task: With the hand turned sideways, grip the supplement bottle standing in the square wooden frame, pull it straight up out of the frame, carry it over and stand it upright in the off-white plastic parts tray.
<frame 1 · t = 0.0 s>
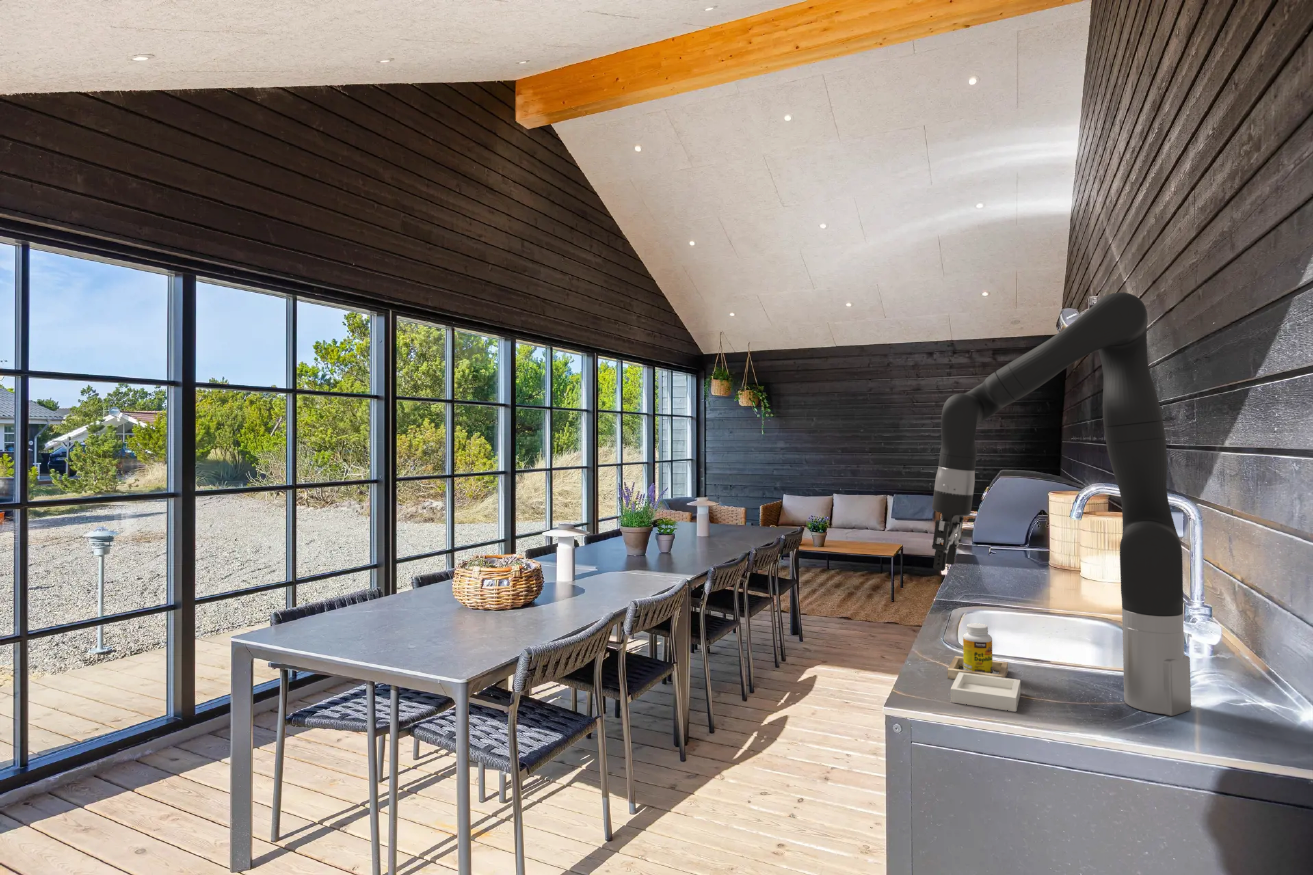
hand: (944, 566, 154), 22 cm above the worktop, tool pointing down, fingers open, 8 cm apart
square wooden frame: (978, 674, 153), on the worktop
parts tray: (986, 697, 140), on the worktop
supplement bottle: (978, 675, 153), resting in square wooden frame
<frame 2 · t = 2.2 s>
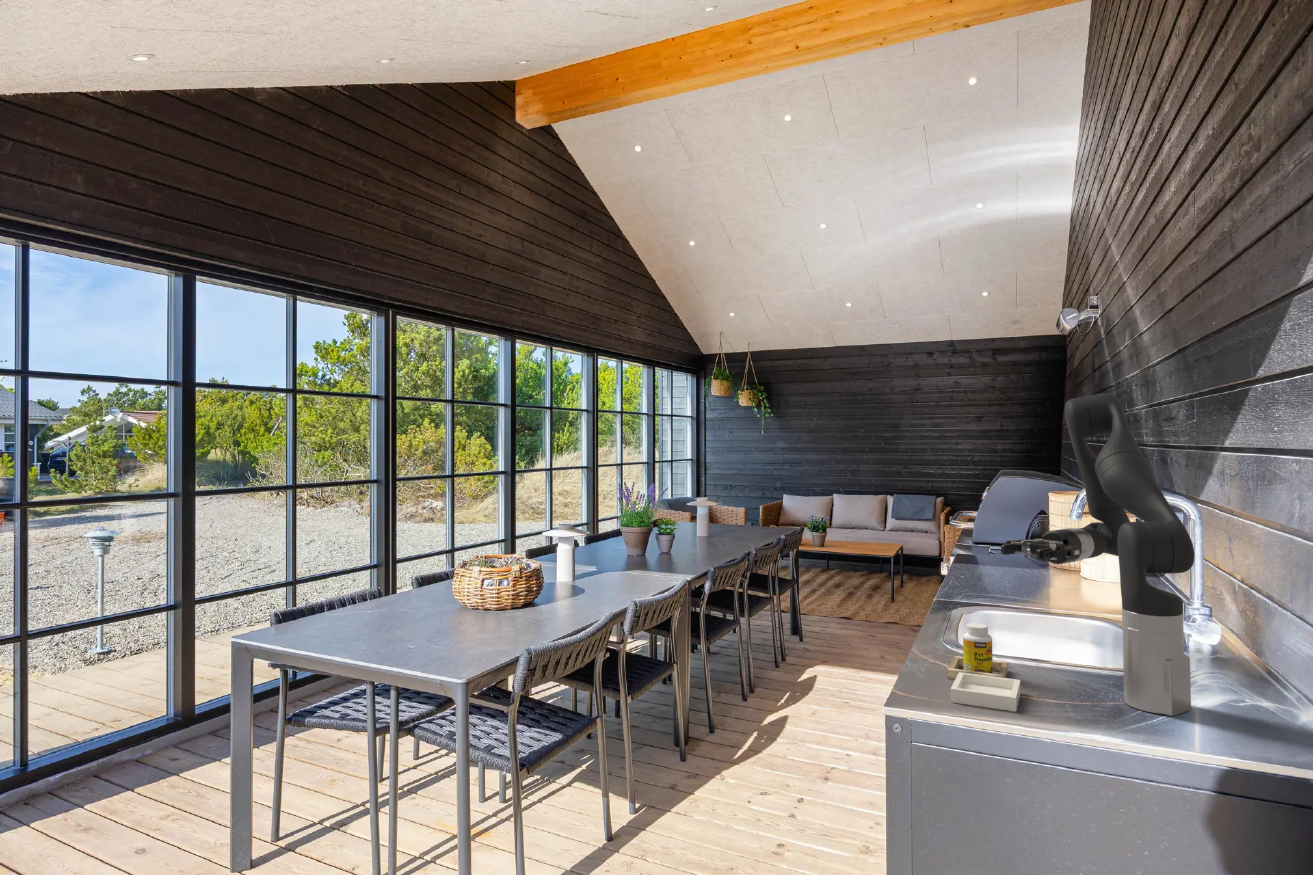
hand: (1019, 552, 160), 24 cm above the worktop, tool horizontal, fingers open, 8 cm apart
nothing on the worktop moved.
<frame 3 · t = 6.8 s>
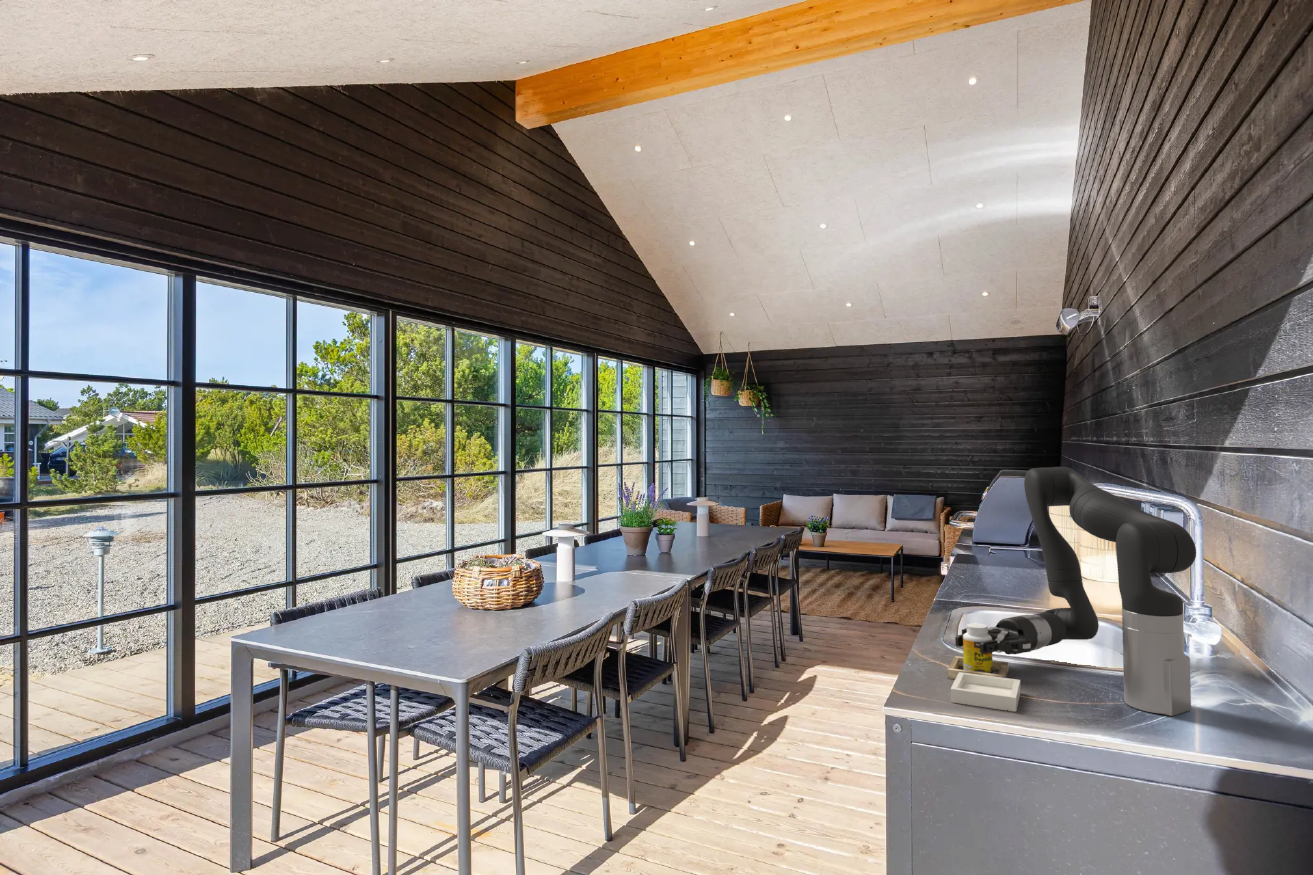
hand: (969, 644, 152), 7 cm above the worktop, tool horizontal, fingers closed on supplement bottle, 5 cm apart
supplement bottle: (978, 675, 153), resting in square wooden frame, touching gripper
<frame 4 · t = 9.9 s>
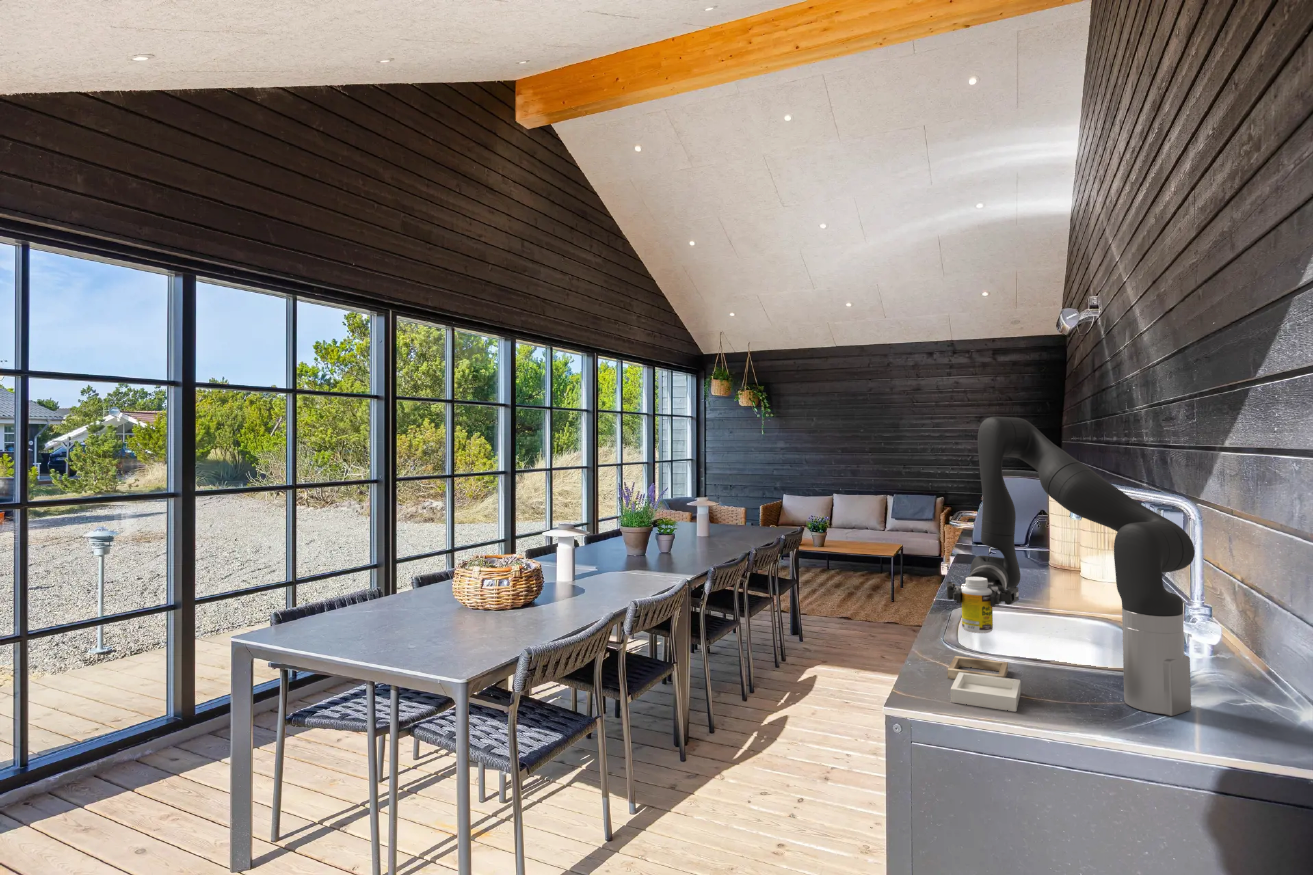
hand: (975, 599, 143), 18 cm above the worktop, tool horizontal, fingers closed on supplement bottle, 5 cm apart
supplement bottle: (977, 631, 145), point 11 cm above the worktop, touching gripper
when the fingers open (8 cm above the worktop, at t = 13.1 s): supplement bottle drops 1 cm, resting on parts tray.
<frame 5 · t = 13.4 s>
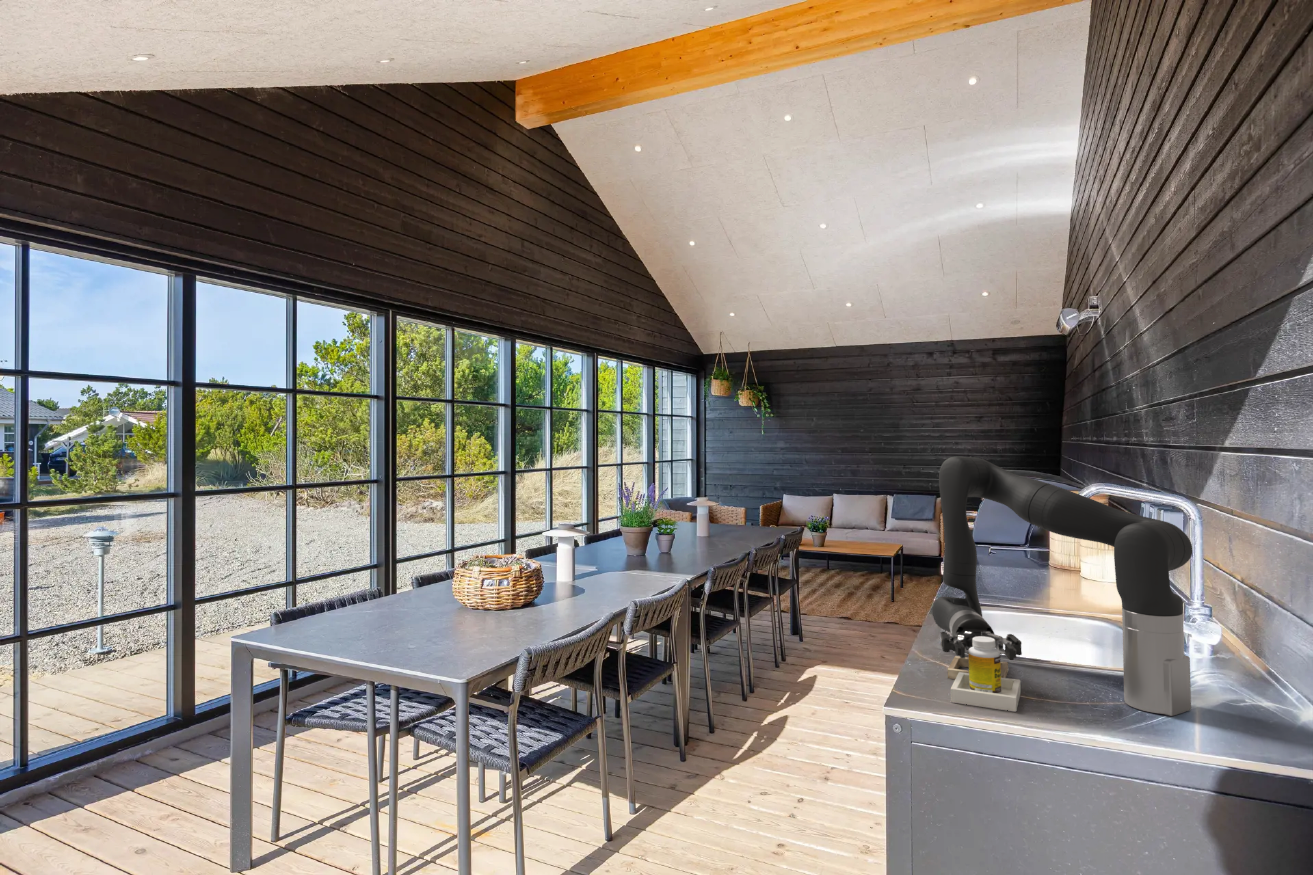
hand: (987, 653, 138), 9 cm above the worktop, tool horizontal, fingers open, 8 cm apart
supplement bottle: (985, 693, 140), point 1 cm above the worktop, touching parts tray
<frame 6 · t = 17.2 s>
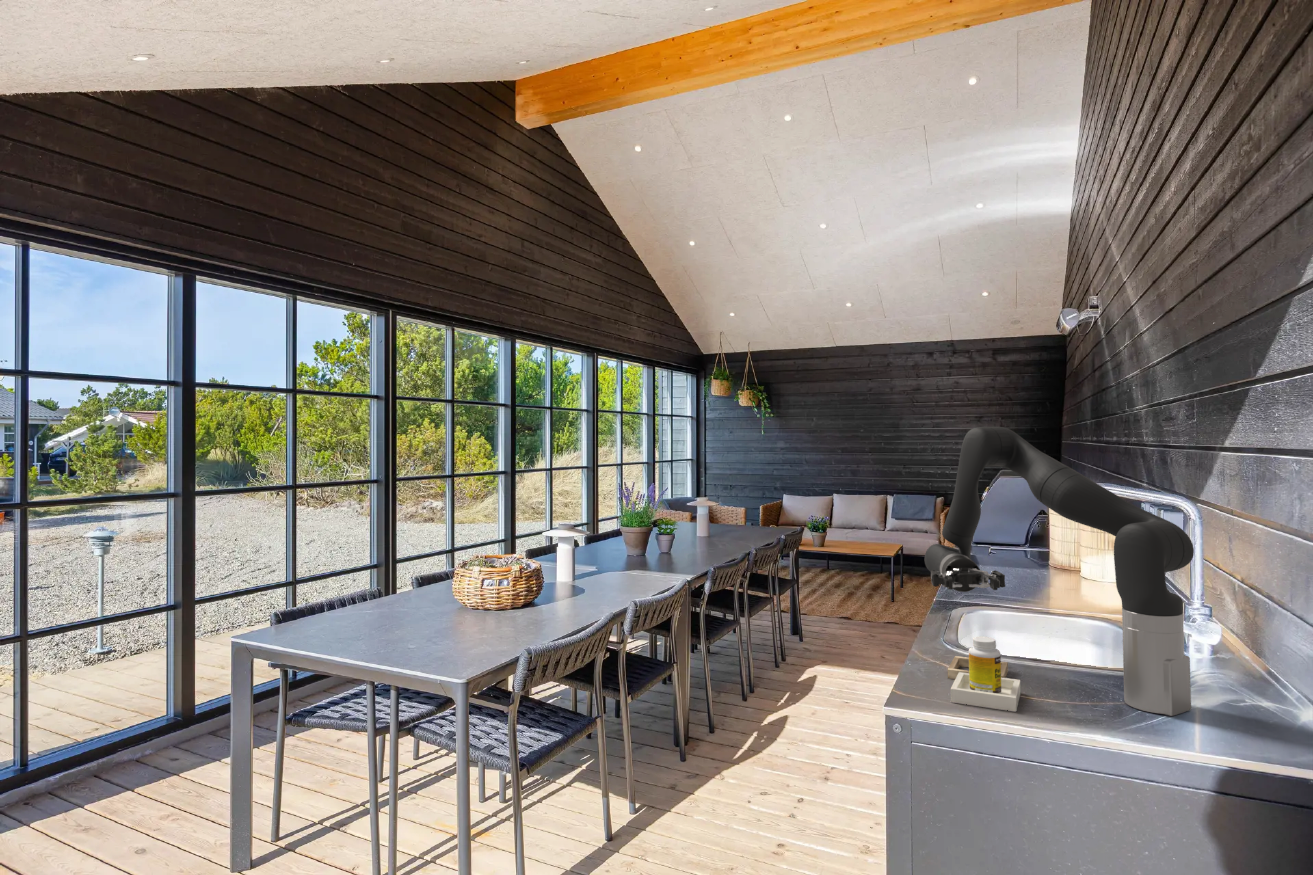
hand: (973, 584, 151), 19 cm above the worktop, tool horizontal, fingers open, 8 cm apart
nothing on the worktop moved.
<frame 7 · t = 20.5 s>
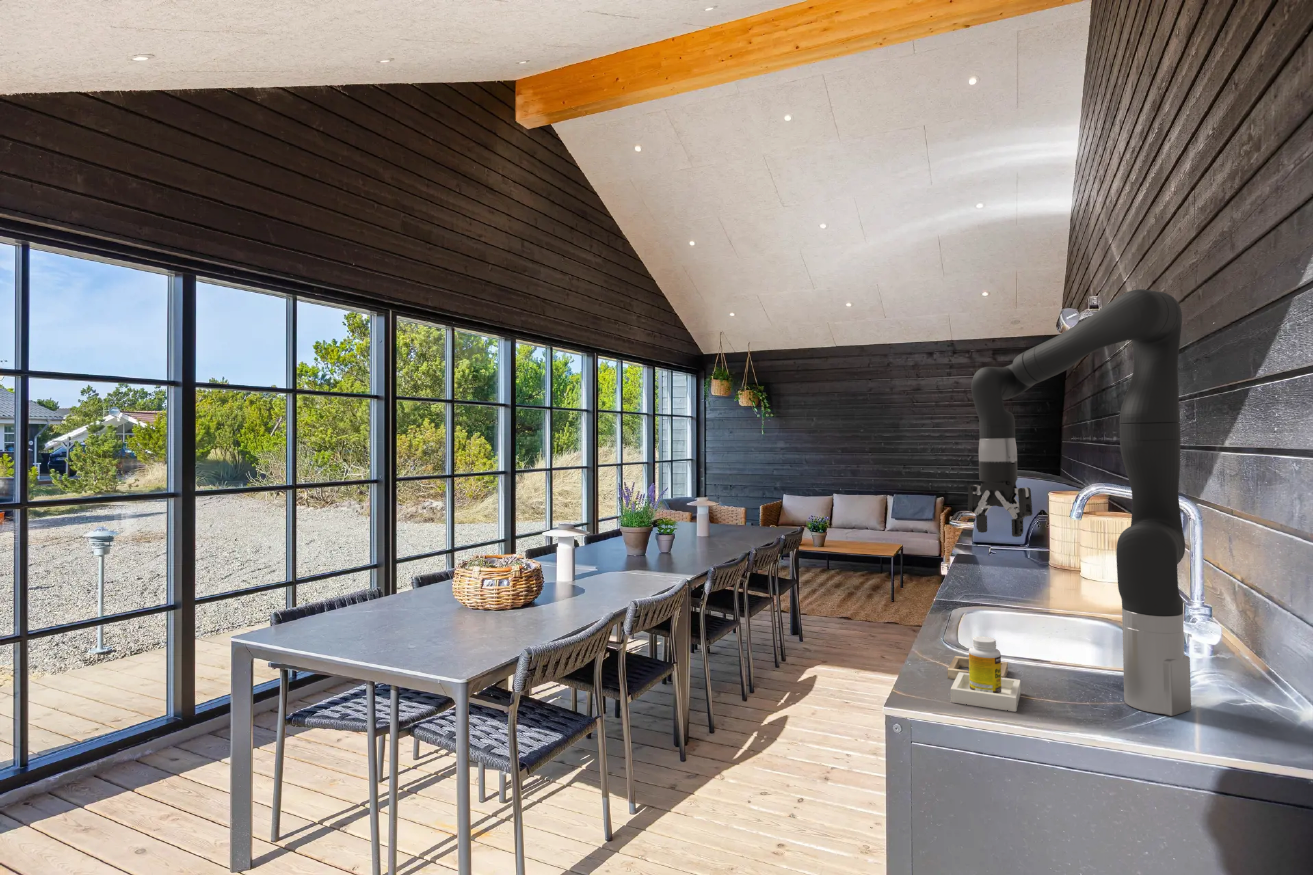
hand: (999, 534, 160), 28 cm above the worktop, tool pointing down, fingers open, 8 cm apart
nothing on the worktop moved.
at the end: supplement bottle 0.1 cm off-centre on the parts tray, point 0.6 cm above the parts tray's base; supplement bottle tilted 0°; the gripper is holding nothing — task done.
